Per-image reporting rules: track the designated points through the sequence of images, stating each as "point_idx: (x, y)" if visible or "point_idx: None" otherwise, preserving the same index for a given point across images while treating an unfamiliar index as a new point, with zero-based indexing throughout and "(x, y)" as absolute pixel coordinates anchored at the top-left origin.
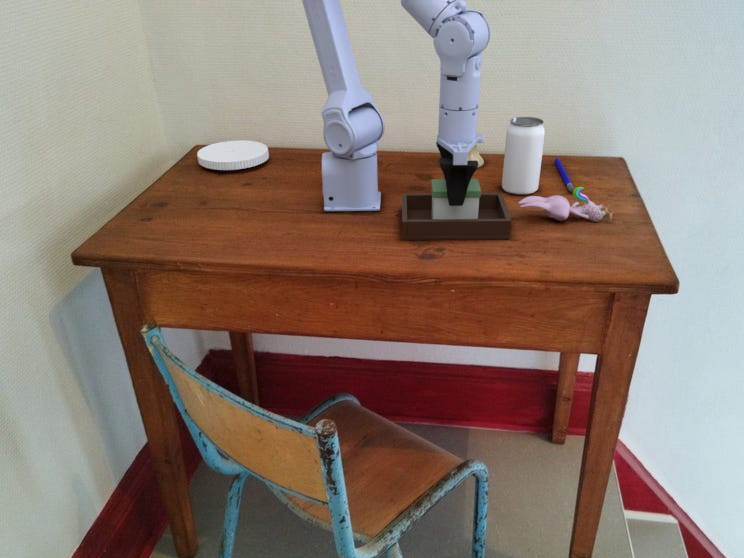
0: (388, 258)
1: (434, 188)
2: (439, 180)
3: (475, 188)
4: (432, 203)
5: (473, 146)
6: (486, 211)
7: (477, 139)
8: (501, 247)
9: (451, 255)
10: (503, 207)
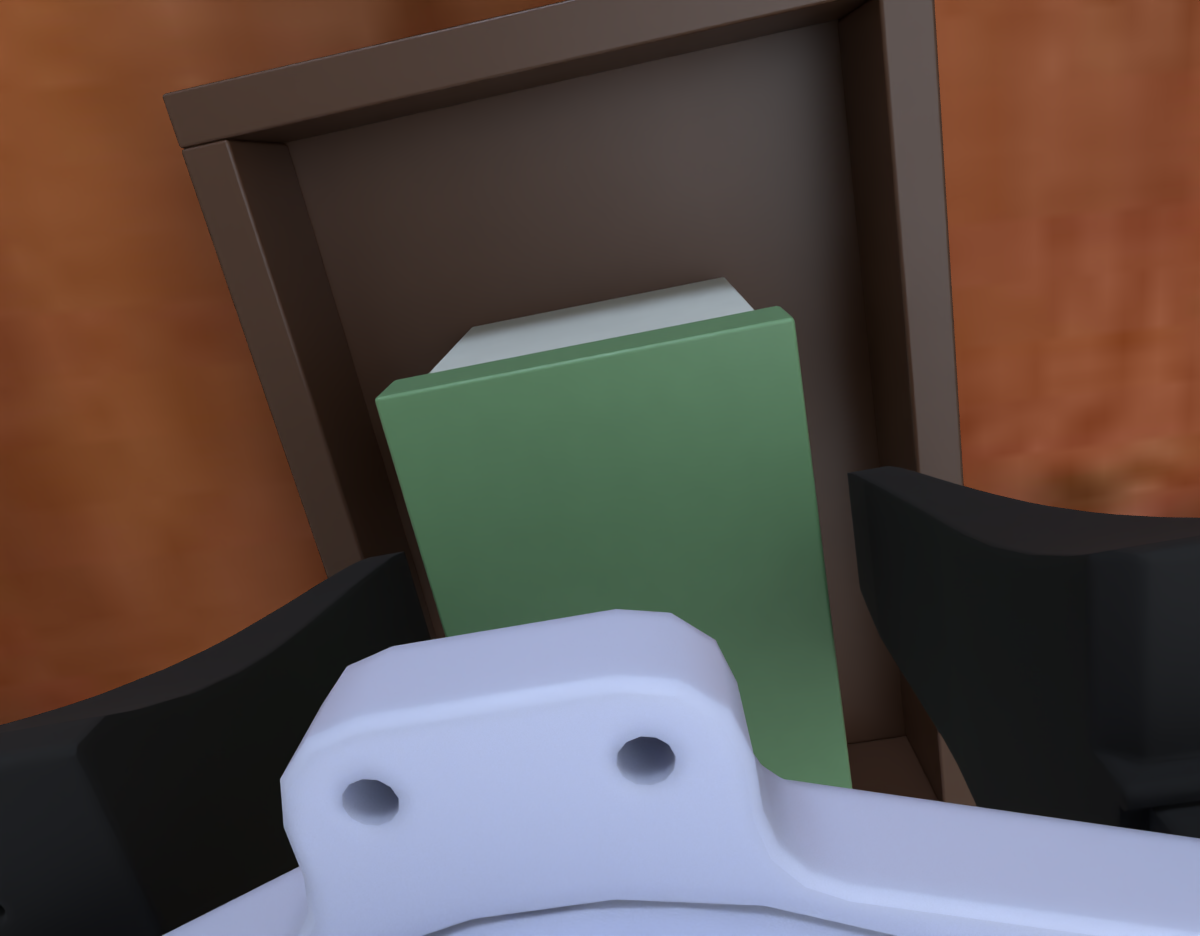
0: None
1: None
2: None
3: (715, 393)
4: None
5: (1138, 842)
6: (370, 229)
7: (784, 849)
8: (1029, 32)
9: (1169, 412)
10: (576, 41)
